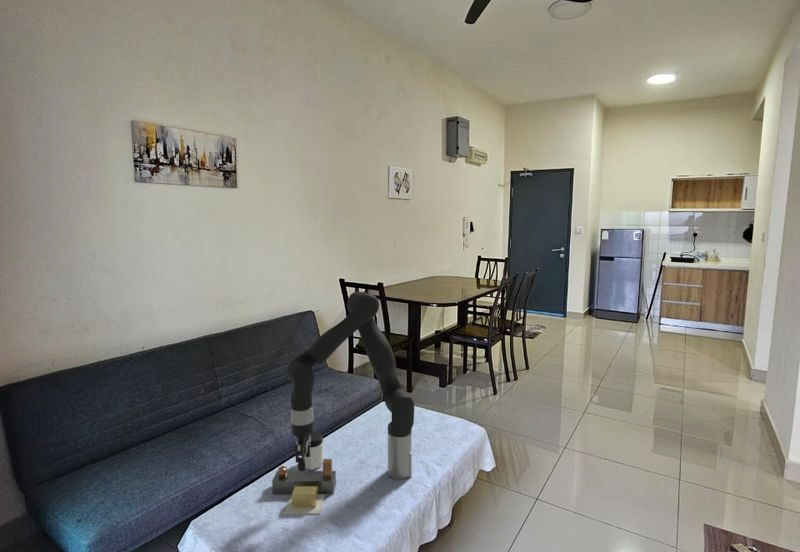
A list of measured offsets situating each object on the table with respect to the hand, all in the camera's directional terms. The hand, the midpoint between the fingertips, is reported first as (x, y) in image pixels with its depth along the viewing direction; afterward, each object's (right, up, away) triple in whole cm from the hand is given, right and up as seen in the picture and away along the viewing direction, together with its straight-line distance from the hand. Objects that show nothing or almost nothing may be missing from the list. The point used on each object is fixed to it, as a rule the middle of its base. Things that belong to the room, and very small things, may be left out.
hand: (304, 463), depth 152 cm
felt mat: (0, -15, +2) cm, 16 cm away
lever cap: (0, -15, +2) cm, 15 cm away
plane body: (-2, -14, +11) cm, 18 cm away
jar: (-2, -12, +27) cm, 30 cm away
